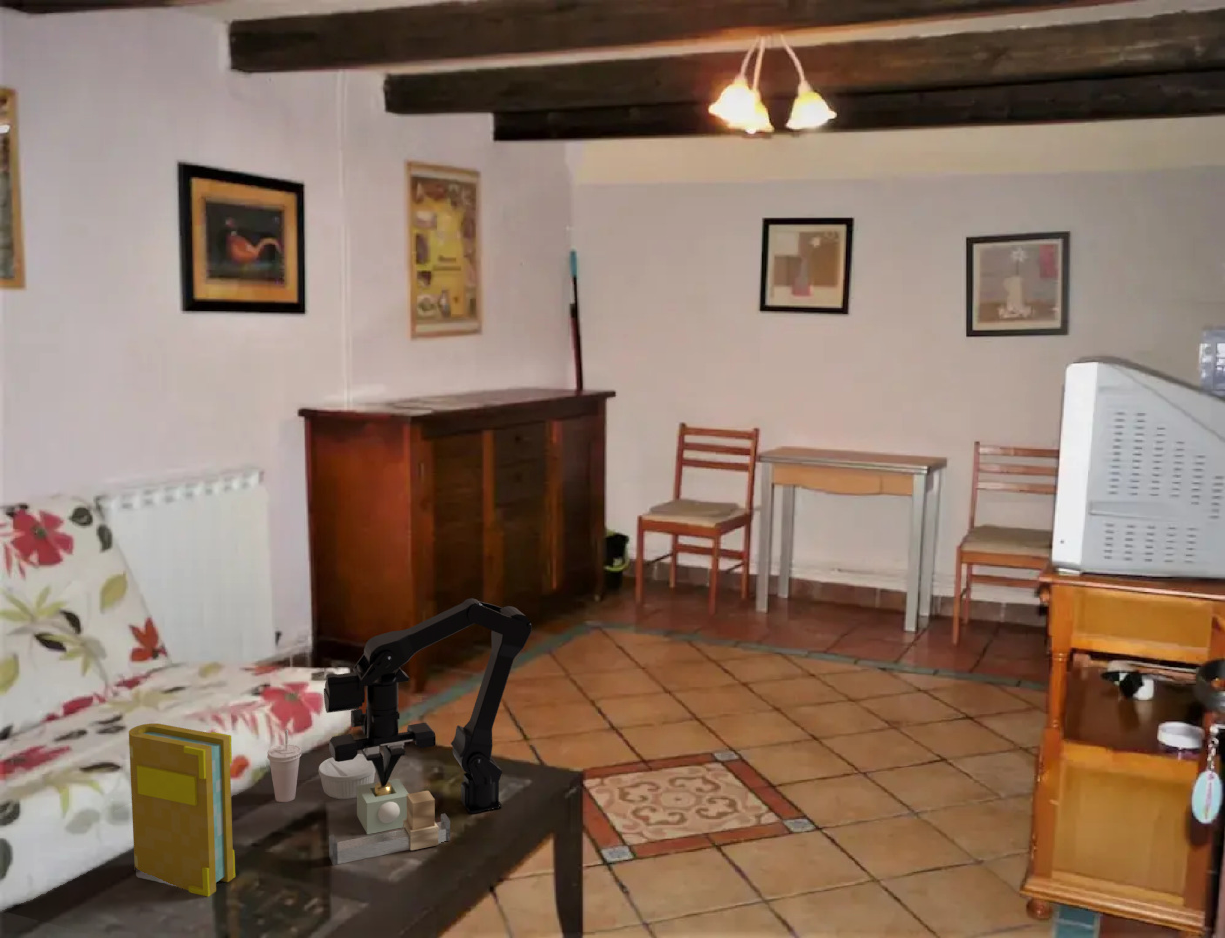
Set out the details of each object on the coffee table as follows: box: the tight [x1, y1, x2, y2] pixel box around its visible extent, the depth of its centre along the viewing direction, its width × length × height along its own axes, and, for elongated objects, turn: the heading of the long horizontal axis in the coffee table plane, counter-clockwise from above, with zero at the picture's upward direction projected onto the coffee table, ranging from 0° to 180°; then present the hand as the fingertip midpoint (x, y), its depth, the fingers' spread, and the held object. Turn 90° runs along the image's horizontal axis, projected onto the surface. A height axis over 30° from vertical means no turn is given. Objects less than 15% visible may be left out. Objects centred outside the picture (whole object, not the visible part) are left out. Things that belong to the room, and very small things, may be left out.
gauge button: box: [375, 781, 391, 797], centre depth 201 cm, size 3×3×4 cm
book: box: [128, 723, 236, 898], centre depth 178 cm, size 17×7×25 cm, turn 71°
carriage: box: [402, 790, 439, 851], centre depth 193 cm, size 5×5×8 cm
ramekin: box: [318, 753, 376, 800], centre depth 214 cm, size 11×11×5 cm
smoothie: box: [267, 728, 302, 803], centre depth 209 cm, size 6×6×14 cm
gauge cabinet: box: [356, 778, 410, 835], centre depth 201 cm, size 8×8×6 cm
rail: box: [328, 812, 451, 866], centre depth 191 cm, size 21×3×4 cm, turn 116°
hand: (383, 784), depth 200 cm, fingers closed
